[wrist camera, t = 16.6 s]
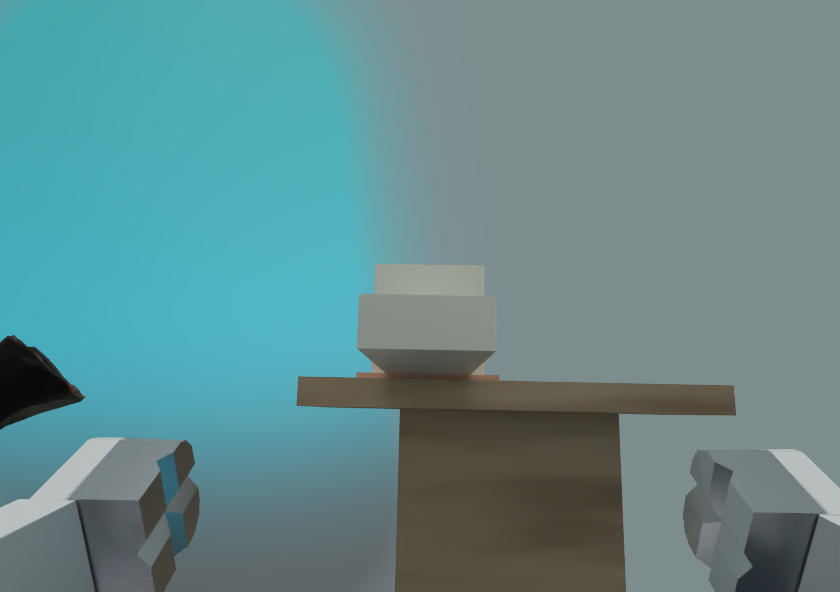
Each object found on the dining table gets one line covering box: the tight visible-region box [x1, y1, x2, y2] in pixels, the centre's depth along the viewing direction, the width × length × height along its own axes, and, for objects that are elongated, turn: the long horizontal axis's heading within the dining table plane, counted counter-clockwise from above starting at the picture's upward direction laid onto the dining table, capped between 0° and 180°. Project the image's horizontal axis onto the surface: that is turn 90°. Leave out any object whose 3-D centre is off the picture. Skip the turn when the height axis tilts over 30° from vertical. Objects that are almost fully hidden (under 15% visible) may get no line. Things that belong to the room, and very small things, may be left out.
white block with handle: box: [357, 264, 496, 375], centre depth 20 cm, size 14×4×4 cm, turn 179°
